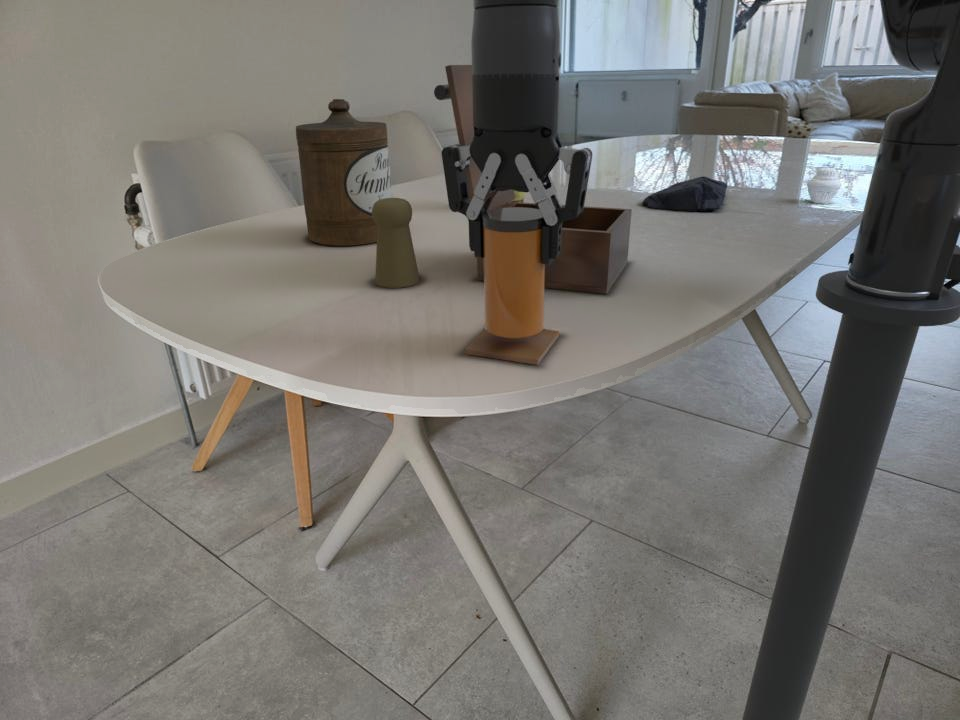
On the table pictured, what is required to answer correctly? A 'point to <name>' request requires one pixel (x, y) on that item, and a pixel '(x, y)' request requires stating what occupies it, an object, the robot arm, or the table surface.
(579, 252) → the chest
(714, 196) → the dark slate chunk
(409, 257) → the pepper shaker
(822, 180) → the white vase
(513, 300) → the honey jar
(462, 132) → the lid
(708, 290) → the table surface
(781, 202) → the table surface
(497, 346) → the coaster
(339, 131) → the wooden container
